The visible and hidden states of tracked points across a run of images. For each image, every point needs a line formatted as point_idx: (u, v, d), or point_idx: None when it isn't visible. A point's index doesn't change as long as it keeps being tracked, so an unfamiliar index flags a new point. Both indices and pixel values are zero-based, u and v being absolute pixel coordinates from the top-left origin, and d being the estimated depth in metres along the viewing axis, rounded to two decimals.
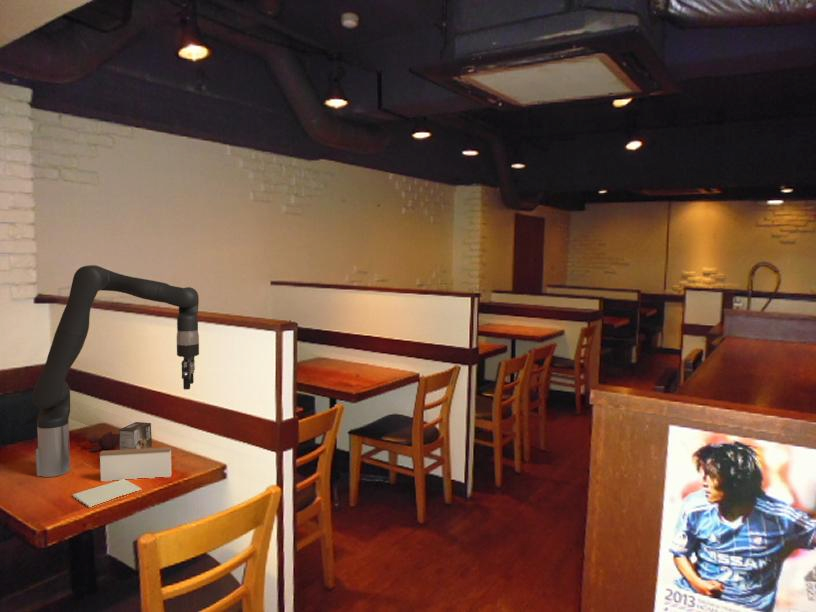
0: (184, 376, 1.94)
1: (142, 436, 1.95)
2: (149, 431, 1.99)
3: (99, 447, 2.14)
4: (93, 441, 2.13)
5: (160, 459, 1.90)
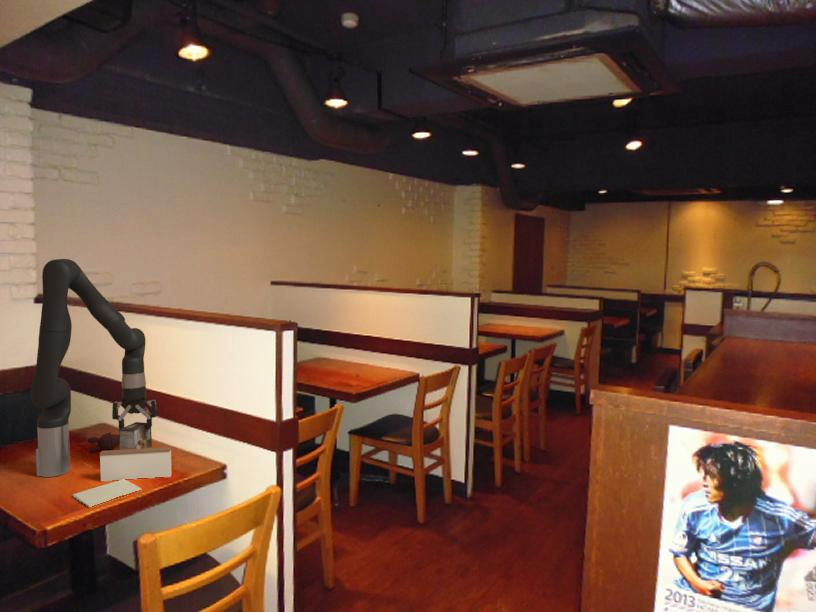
0: (155, 414, 1.97)
1: (142, 436, 1.95)
2: (149, 432, 1.99)
3: (98, 447, 2.14)
4: (92, 441, 2.13)
5: (160, 459, 1.90)
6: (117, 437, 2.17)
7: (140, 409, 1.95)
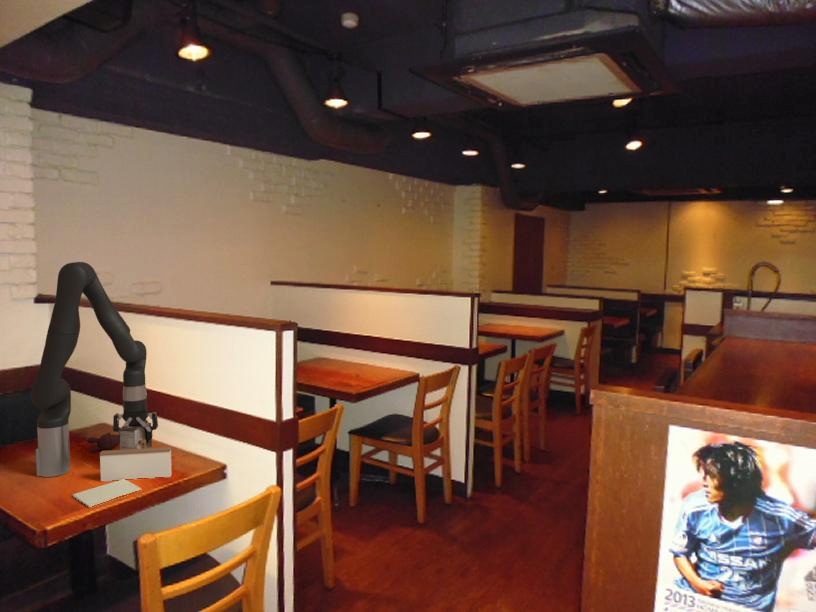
0: None
1: (142, 436, 1.95)
2: None
3: (97, 447, 2.14)
4: (91, 441, 2.13)
5: (160, 459, 1.90)
6: (116, 437, 2.17)
7: (141, 421, 1.95)
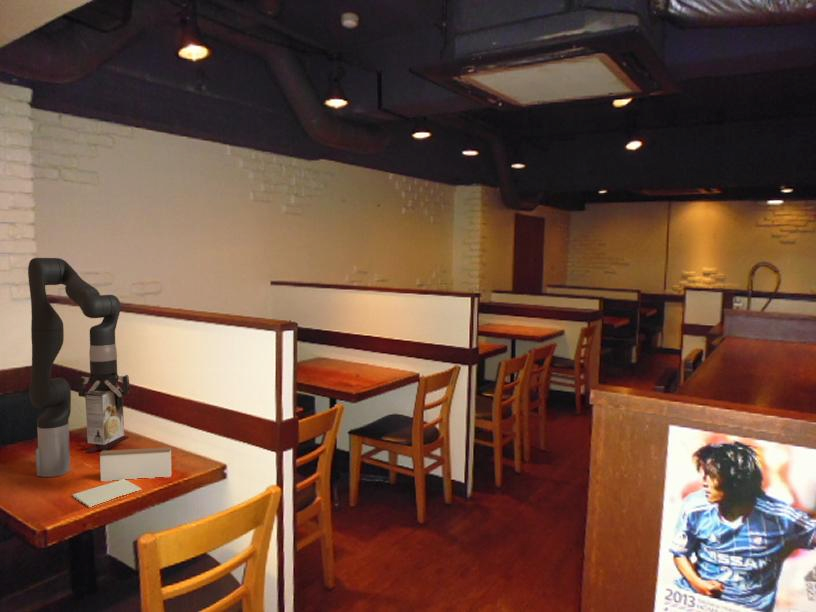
0: (128, 391, 1.76)
1: (112, 402, 1.74)
2: None
3: (95, 448, 2.13)
4: None
5: (160, 459, 1.90)
6: None
7: (110, 385, 1.73)
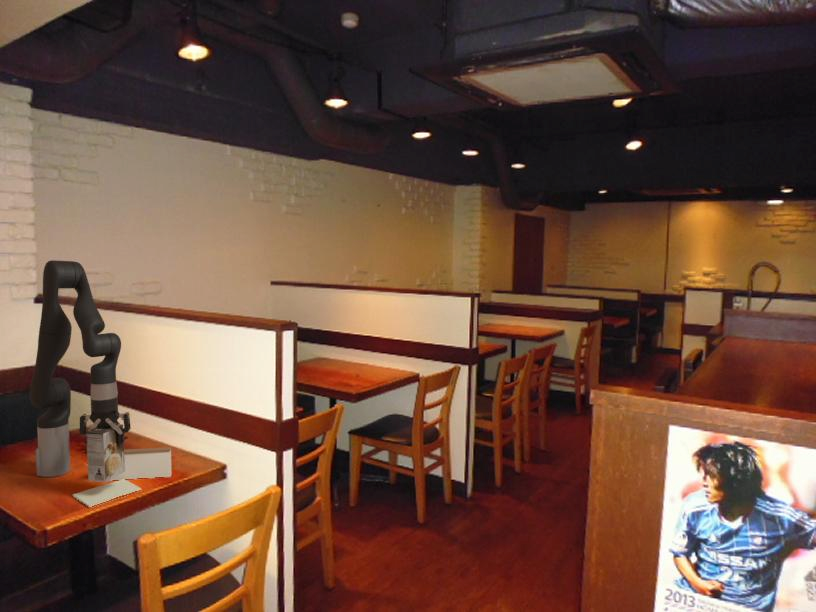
0: (128, 428, 1.77)
1: (113, 439, 1.75)
2: None
3: None
4: None
5: (160, 459, 1.90)
6: None
7: (111, 423, 1.74)
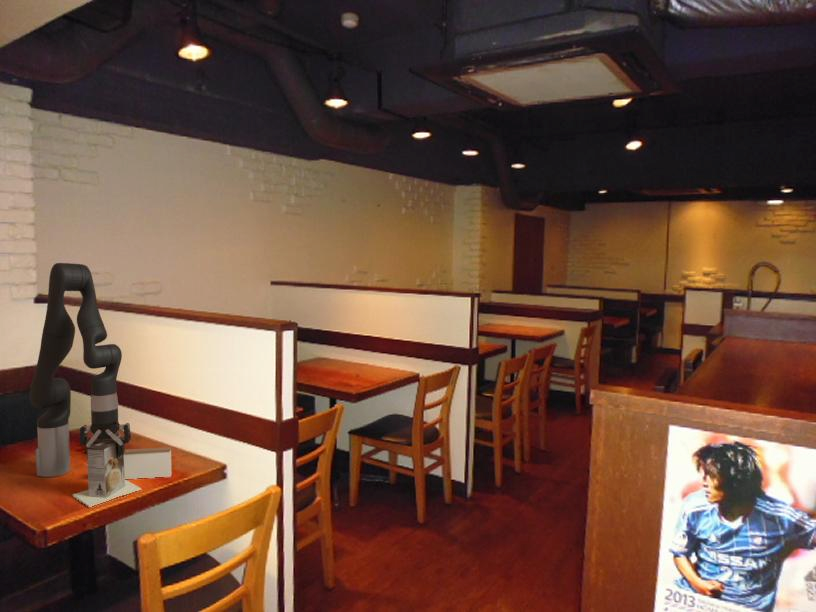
0: (129, 439, 1.77)
1: (113, 454, 1.75)
2: None
3: None
4: None
5: (160, 459, 1.90)
6: None
7: (111, 434, 1.75)
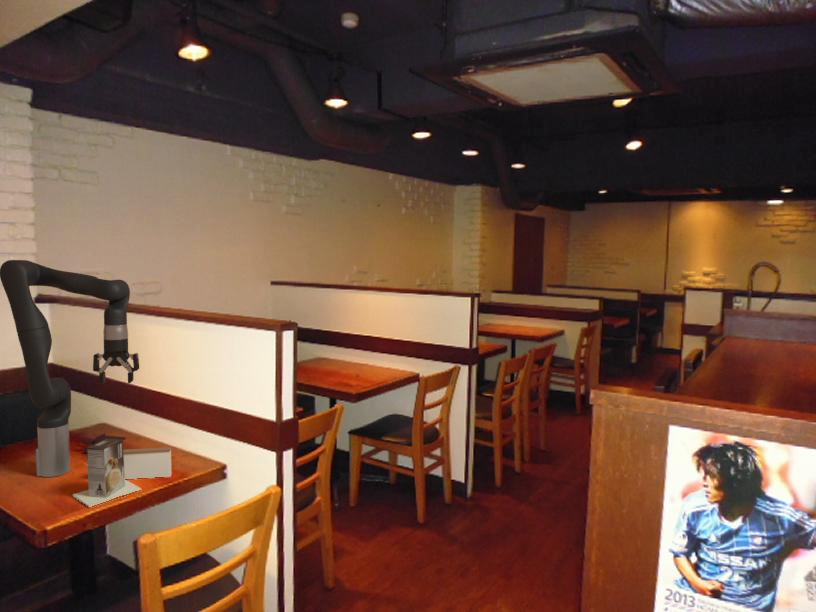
0: (137, 368, 1.94)
1: (113, 454, 1.75)
2: (121, 449, 1.79)
3: None
4: (86, 442, 2.12)
5: (160, 459, 1.90)
6: None
7: (121, 362, 1.91)
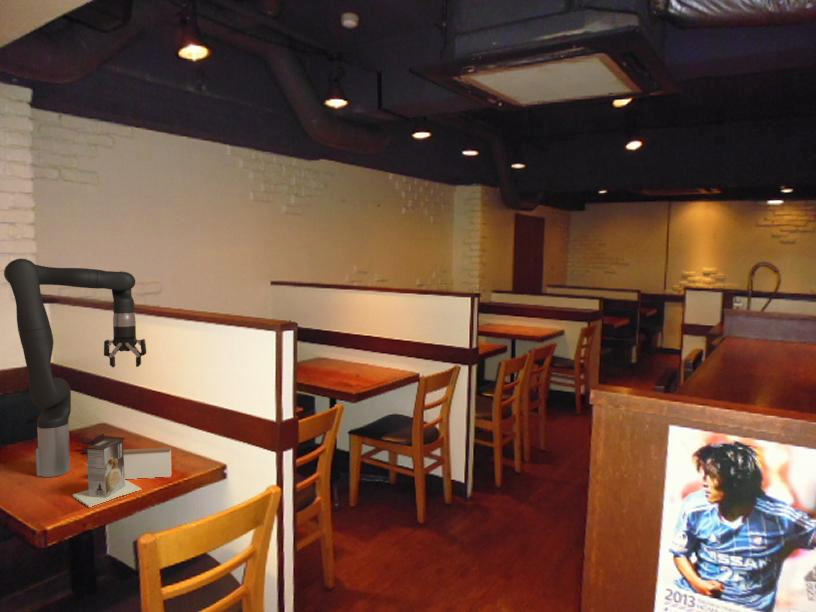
0: (144, 352, 2.10)
1: (113, 454, 1.75)
2: (121, 449, 1.79)
3: None
4: (85, 443, 2.11)
5: (160, 459, 1.90)
6: None
7: (130, 347, 2.08)
